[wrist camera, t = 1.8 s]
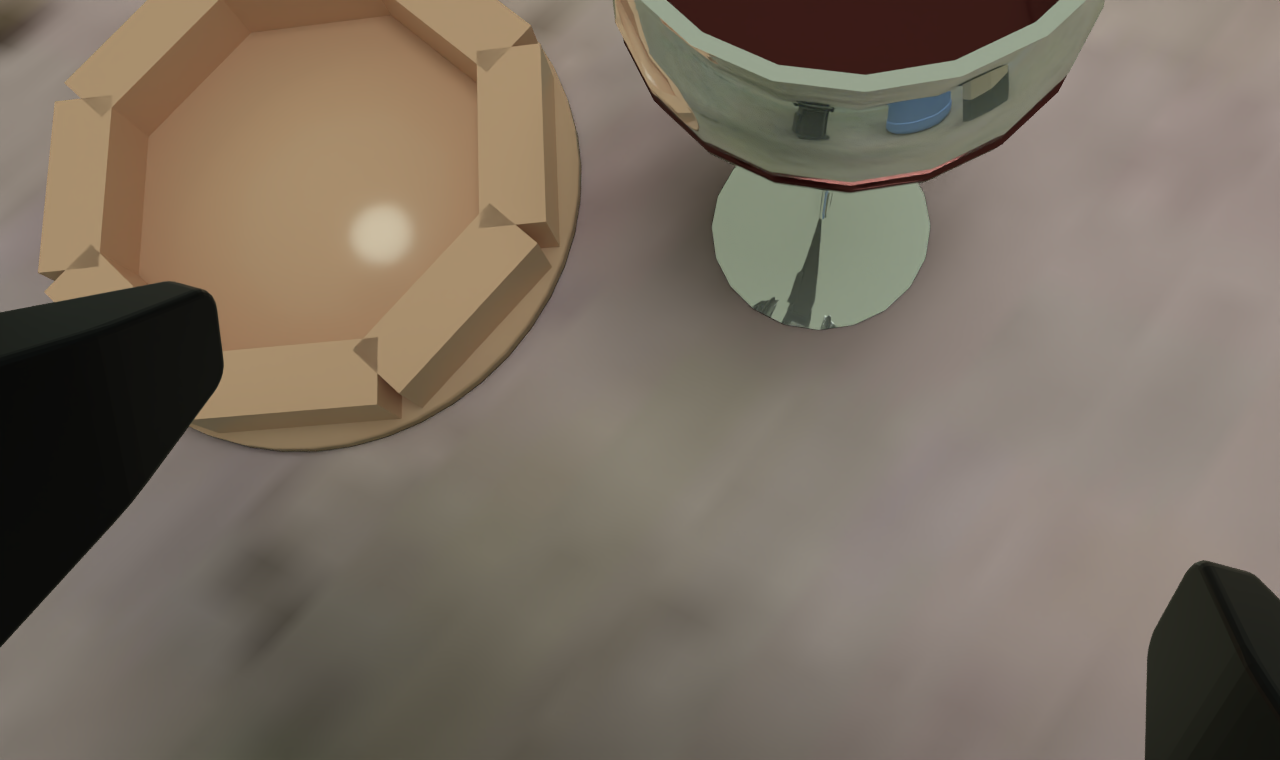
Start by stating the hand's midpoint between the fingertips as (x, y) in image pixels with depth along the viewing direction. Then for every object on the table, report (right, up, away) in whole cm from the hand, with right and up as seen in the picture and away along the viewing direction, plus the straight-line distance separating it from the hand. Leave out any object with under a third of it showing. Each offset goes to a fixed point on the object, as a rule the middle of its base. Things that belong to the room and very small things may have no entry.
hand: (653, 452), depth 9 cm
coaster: (-8, +5, +16) cm, 19 cm away
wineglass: (+4, +4, +15) cm, 16 cm away
